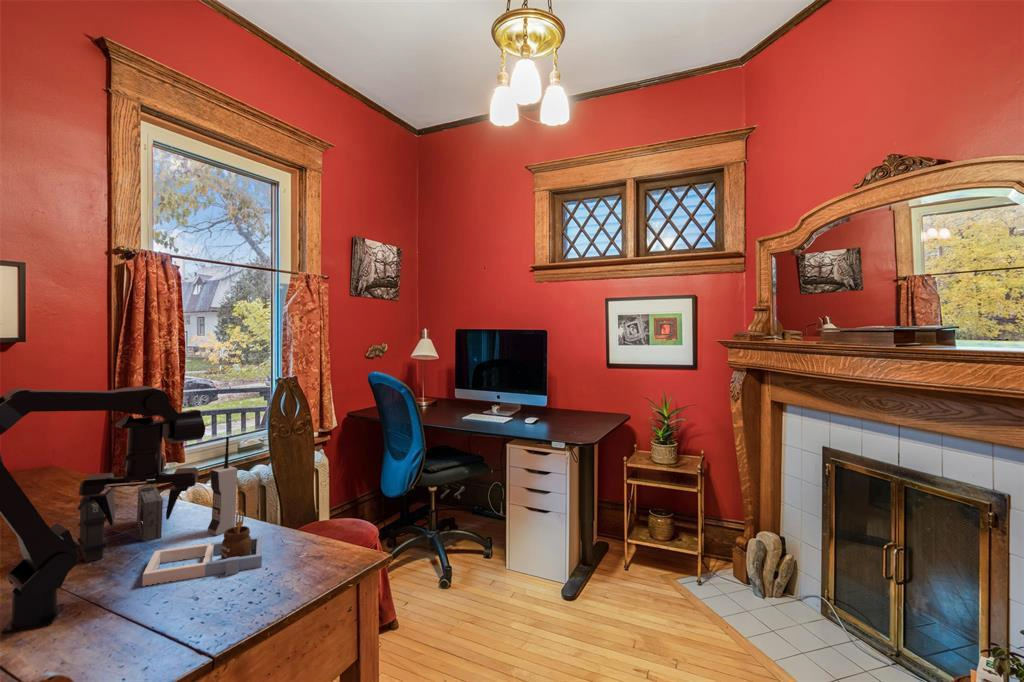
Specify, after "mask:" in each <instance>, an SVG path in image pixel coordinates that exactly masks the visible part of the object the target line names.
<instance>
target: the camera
mask: <svg viewBox="0 0 1024 682" xmlns="http://www.w3.org/2000/svg"><path fill="white" fill-rule="evenodd" d="M137 488H138V489H137V492H138V493H137V507H136V508H137V511H136V513H137V514H136V524H138V525H137V528H138V527H139V528H138V530H140V531H139V533H140V532H141V533H140V536H141V535H142V536H141V539H143V540H142V542H146V540H148V541H152V540H151V539H153V540H156V539H157V538H158V539H161V538H162V528H163V526H162V525H163V506H164V505H163V504H164V503H163V502H164V499H163V498H162V496H161V494H160V491H159V490H158V488H157V485H156V484H149V485H142V486H139V487H137ZM141 521H143V524H142V522H141ZM155 538H156V539H155Z"/></svg>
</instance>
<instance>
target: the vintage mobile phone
mask: <svg viewBox="0 0 1024 682" xmlns="http://www.w3.org/2000/svg"><path fill="white" fill-rule="evenodd" d="M225 438H226V439H225V454H224V466H221V467H217V468H212V469H210V470H209V472H210V486H211V487H210V488H211V490H212V506H211V521H210V523H209V525H208V527H207V533H209V534H210V535H214V536H219V535H222V534H223V535H224V533H225V531H226V530H227V529H229V528H232V527H234V526H235V522H236V510H237V509H236V508H237V484H238V468H237V467H234V466H231V465H229V456H230V455H229V444H230V442H229V441H230V437H229V436H227V437H225ZM234 511H235V512H234ZM233 512H234V513H235V514H233ZM232 525H233V526H232ZM235 527H236V526H235Z"/></svg>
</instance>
